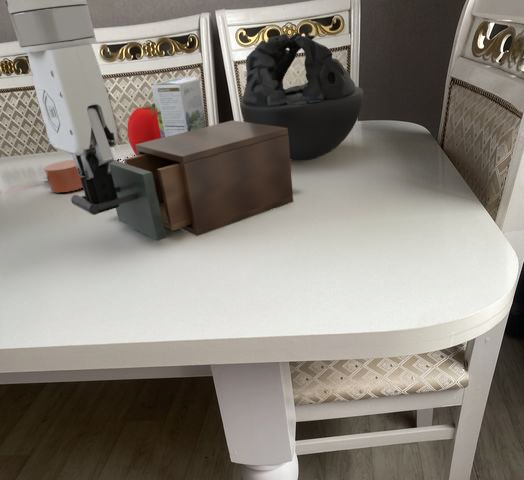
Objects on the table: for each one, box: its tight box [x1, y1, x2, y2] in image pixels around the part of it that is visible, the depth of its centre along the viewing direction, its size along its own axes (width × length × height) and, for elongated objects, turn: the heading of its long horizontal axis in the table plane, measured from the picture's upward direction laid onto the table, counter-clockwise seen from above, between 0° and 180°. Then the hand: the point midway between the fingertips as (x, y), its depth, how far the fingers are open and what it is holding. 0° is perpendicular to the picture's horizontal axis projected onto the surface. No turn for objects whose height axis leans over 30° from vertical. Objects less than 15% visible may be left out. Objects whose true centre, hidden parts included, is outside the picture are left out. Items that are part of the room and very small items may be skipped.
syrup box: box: [151, 76, 207, 138], centre depth 88 cm, size 6×6×14 cm
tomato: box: [126, 103, 161, 156], centre depth 98 cm, size 12×12×10 cm
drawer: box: [70, 153, 192, 241], centre depth 66 cm, size 21×11×8 cm, turn 127°
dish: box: [43, 159, 85, 194], centre depth 90 cm, size 7×7×4 cm
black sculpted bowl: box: [239, 32, 364, 162], centre depth 86 cm, size 20×20×19 cm
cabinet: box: [135, 119, 294, 237], centre depth 70 cm, size 16×13×10 cm
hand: (105, 208), depth 63 cm, fingers closed
